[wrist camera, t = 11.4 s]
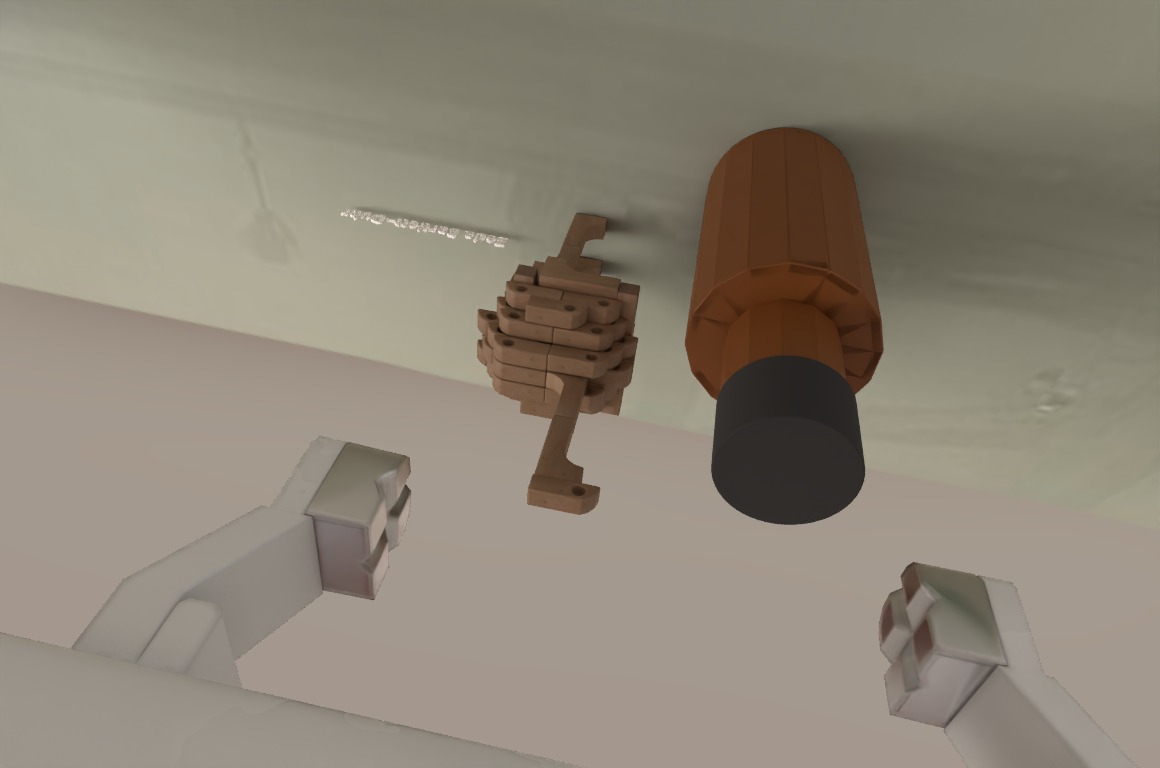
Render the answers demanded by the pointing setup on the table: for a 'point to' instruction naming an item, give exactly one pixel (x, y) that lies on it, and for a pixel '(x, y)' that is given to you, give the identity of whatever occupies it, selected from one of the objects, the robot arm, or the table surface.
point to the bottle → (783, 263)
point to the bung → (787, 441)
